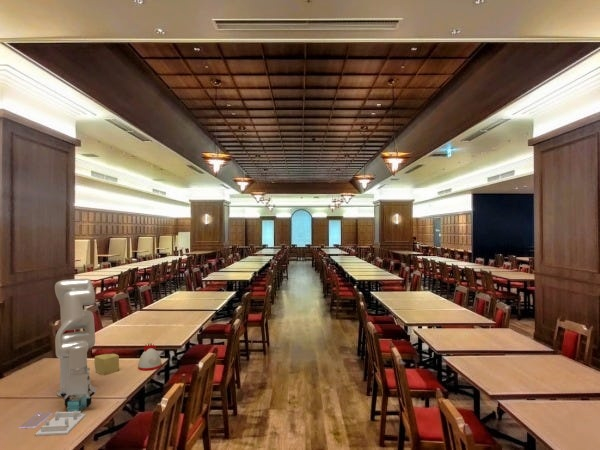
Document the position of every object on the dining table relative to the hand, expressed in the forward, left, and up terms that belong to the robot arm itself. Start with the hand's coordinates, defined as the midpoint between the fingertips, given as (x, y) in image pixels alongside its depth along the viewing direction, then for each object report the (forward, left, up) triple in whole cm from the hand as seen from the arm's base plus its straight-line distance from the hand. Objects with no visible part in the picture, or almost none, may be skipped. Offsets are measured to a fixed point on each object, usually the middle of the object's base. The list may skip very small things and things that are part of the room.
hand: (78, 406), depth 198 cm
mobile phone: (+10, -14, -2) cm, 17 cm away
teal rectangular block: (0, 0, -2) cm, 2 cm away
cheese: (-55, -7, -2) cm, 55 cm away
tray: (+16, 0, -2) cm, 16 cm away
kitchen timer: (-61, +17, -2) cm, 63 cm away
